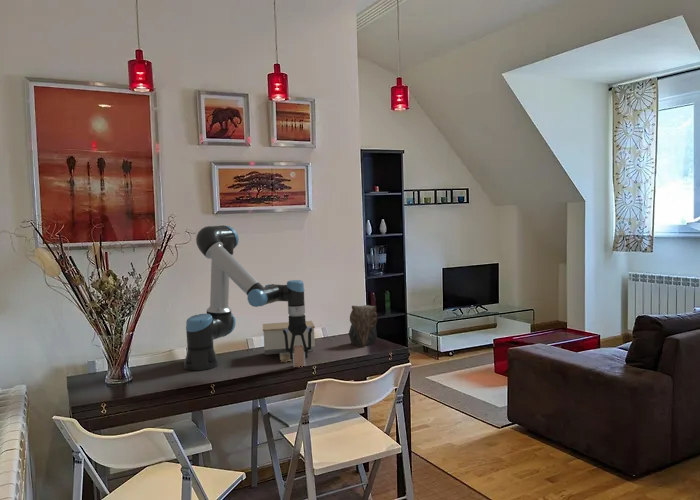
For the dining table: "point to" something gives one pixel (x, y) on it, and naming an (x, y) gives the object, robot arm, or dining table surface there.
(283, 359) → the tile
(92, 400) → the dining table surface
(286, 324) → the cabinet
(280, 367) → the dining table surface
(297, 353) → the mallet
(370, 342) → the owl
